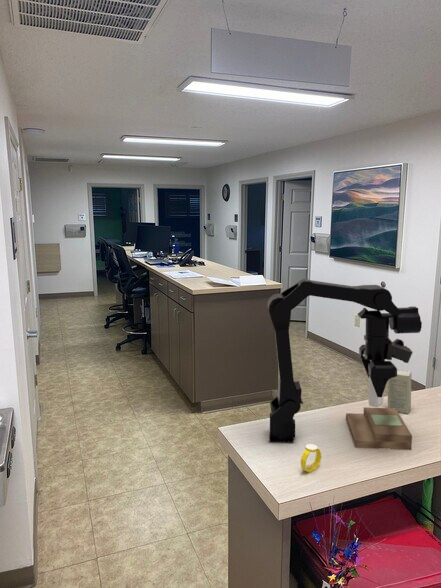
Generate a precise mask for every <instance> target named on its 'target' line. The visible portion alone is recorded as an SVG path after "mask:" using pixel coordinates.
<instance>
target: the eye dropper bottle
mask: <svg viewBox="0 0 441 588" xmlns="http://www.w3.org/2000/svg"><path fill="white" fill-rule="evenodd" d="M383 404H384V394H383V395H382V397H377V394H376V392H375V389H374V387H373V384H372V381H371V379H370V376H369V378H368V405H369V406H370V407H373V408H380V407H381V406H382V405H383Z"/></svg>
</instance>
